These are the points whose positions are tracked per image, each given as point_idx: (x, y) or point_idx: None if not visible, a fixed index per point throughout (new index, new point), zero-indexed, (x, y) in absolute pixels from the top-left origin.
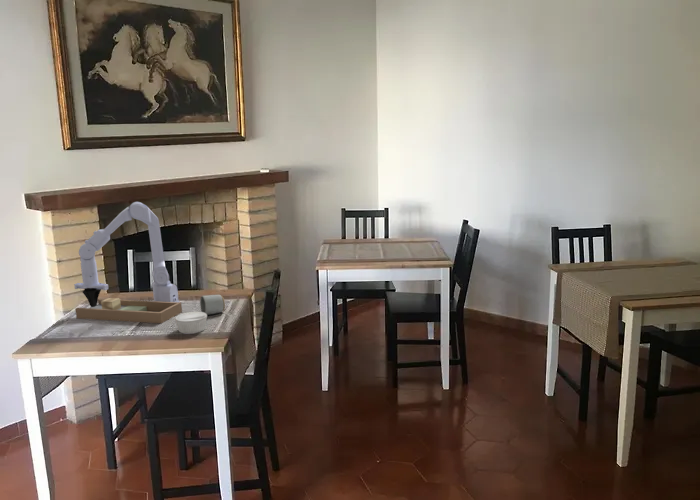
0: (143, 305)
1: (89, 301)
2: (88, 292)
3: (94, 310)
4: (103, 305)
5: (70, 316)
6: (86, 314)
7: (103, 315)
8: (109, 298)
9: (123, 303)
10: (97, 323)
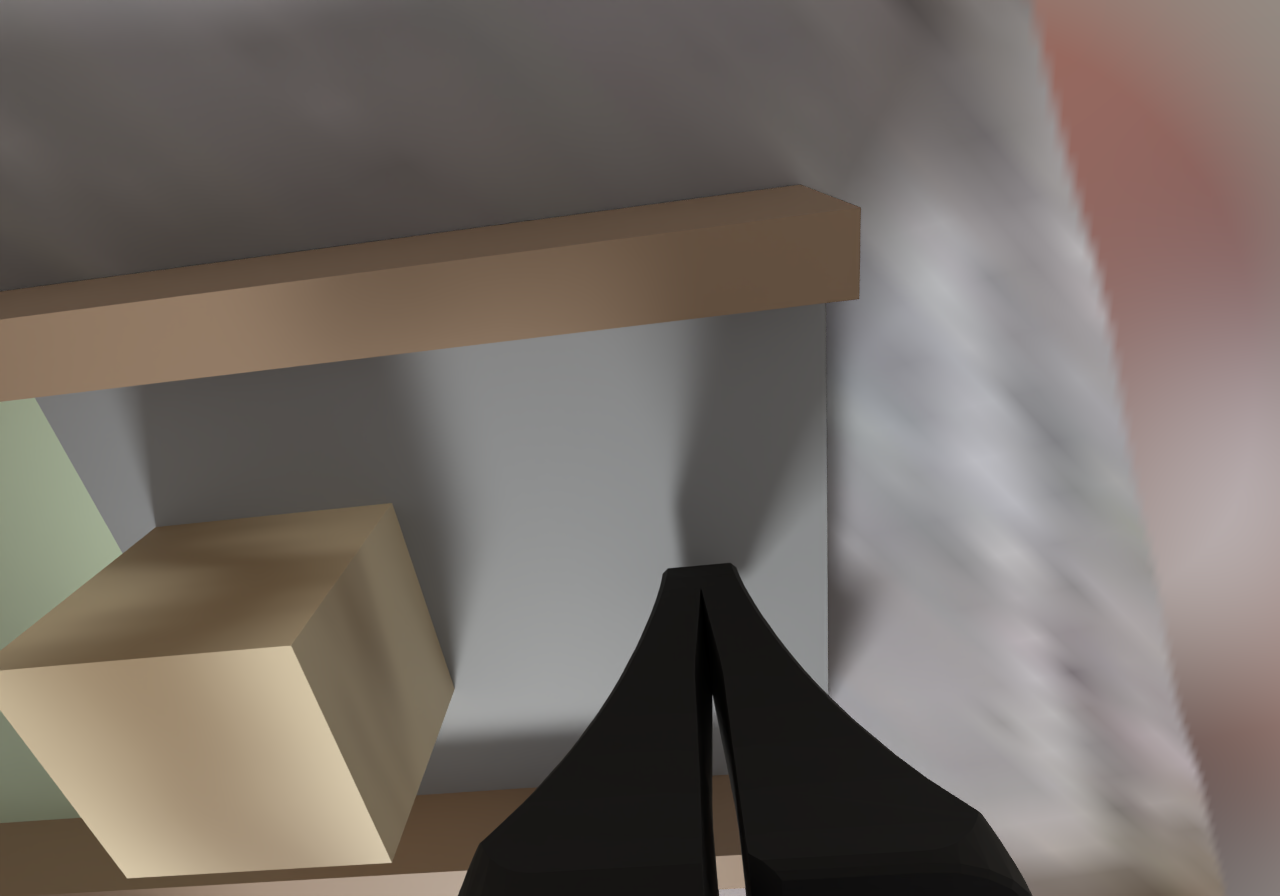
0: (7, 835)
1: (737, 631)
2: (656, 853)
3: (232, 283)
4: (292, 578)
5: (1038, 255)
6: (522, 231)
7: (83, 288)
8: (341, 835)
9: None
10: (31, 26)
